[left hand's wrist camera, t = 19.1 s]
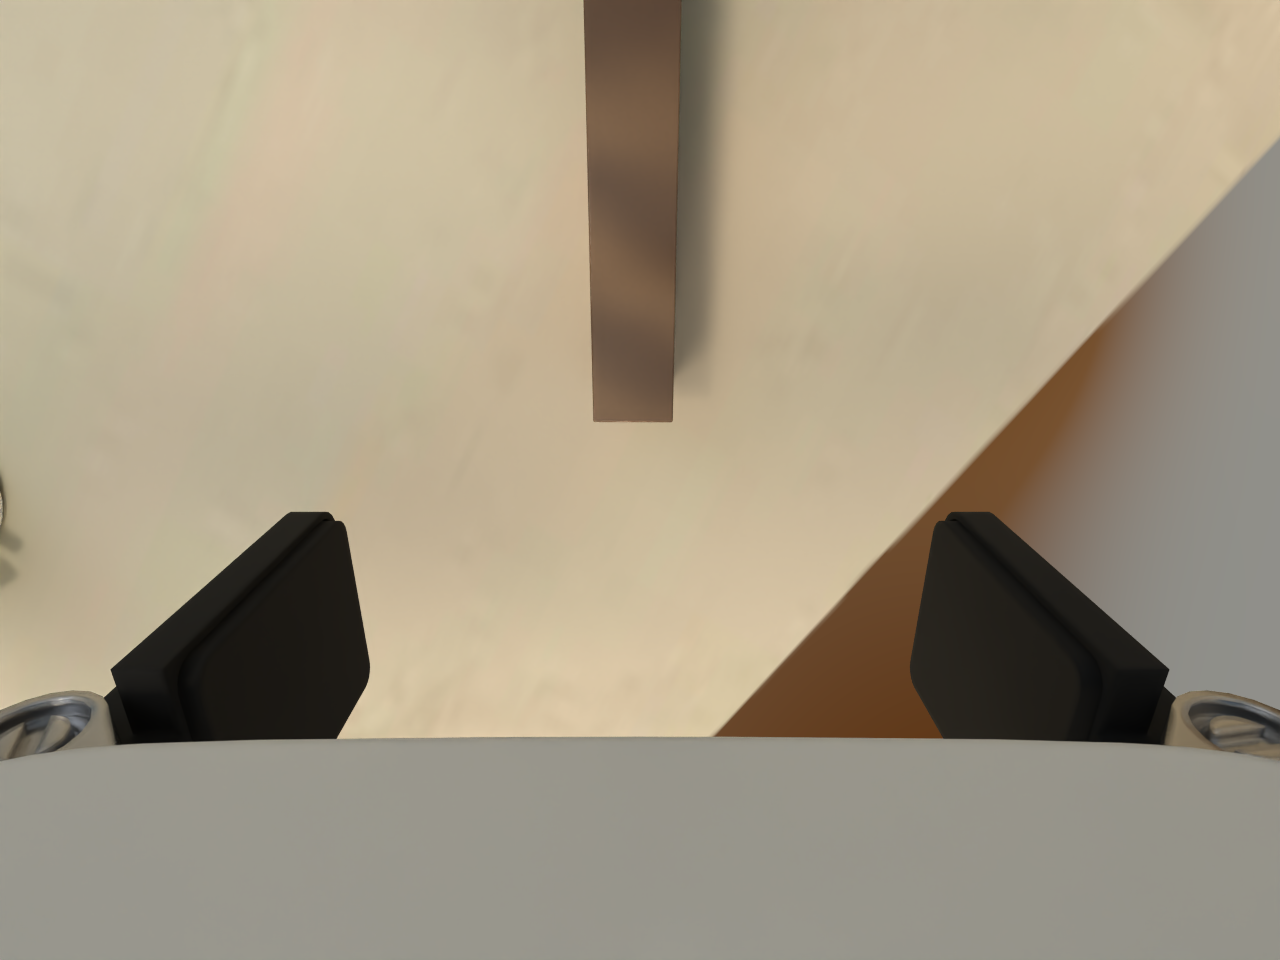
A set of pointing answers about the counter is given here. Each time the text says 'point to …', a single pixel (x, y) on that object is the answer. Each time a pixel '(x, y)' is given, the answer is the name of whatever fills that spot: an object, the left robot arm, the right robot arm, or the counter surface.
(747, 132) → the counter surface
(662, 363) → the beam
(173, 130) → the counter surface
